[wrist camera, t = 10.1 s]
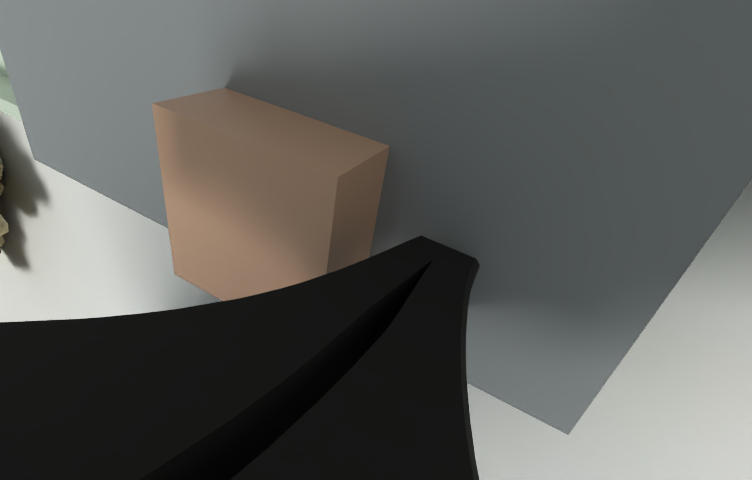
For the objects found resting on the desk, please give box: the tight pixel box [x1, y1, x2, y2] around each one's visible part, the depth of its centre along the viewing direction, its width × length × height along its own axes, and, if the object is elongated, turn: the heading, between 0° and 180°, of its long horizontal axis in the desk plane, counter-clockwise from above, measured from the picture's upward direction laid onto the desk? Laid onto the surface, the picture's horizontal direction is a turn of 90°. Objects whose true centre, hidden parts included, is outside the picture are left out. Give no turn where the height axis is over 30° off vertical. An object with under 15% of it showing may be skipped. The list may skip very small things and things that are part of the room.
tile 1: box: [152, 88, 390, 301], centre depth 10 cm, size 4×4×2 cm
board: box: [0, 0, 752, 435], centre depth 10 cm, size 13×20×2 cm, turn 80°
